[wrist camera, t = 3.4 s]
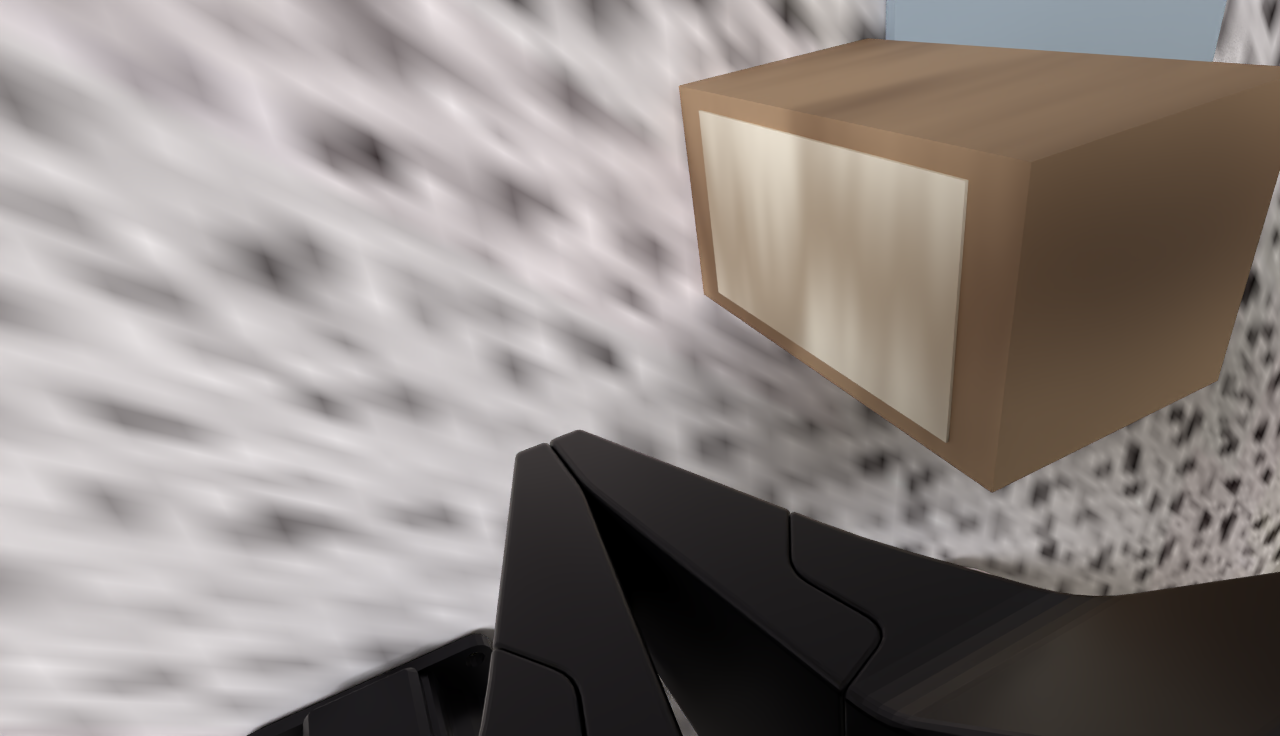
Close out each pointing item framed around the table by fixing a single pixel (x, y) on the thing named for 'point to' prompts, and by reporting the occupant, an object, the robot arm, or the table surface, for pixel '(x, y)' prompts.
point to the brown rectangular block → (987, 231)
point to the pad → (1065, 25)
